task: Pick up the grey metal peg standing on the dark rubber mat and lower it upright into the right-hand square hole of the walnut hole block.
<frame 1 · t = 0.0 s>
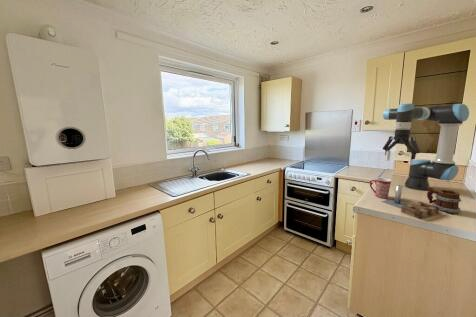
hand: (398, 162, 126), 28 cm above the countertop, fingers open, 13 cm apart
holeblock: (419, 213, 116), on the countertop
mug 2: (441, 209, 121), on the countertop
peg: (397, 203, 130), resting on mat
mug: (378, 196, 143), on the countertop
mat: (397, 203, 130), on the countertop
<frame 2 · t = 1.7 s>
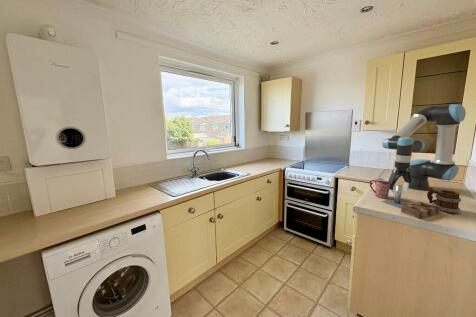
hand: (398, 193, 129), 7 cm above the countertop, fingers open, 13 cm apart
nothing on the countertop moved.
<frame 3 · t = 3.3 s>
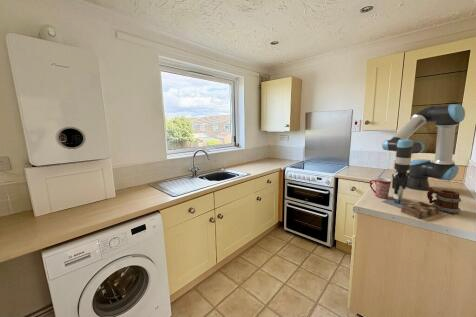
hand: (397, 198, 130), 4 cm above the countertop, fingers closed on peg, 3 cm apart
peg: (397, 203, 130), resting on mat, touching gripper
everything else where it was.
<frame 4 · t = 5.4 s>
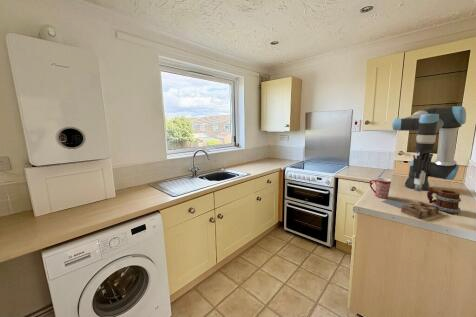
hand: (418, 183, 112), 19 cm above the countertop, fingers closed on peg, 3 cm apart
peg: (417, 190, 112), point 15 cm above the countertop, touching gripper
everything else where it was.
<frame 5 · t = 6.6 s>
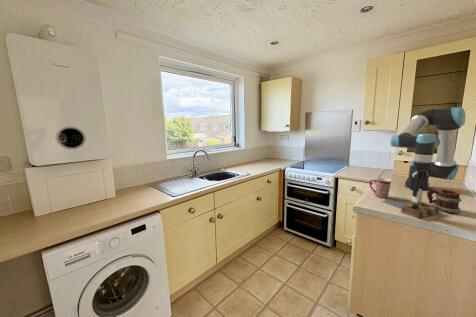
hand: (416, 201, 113), 8 cm above the countertop, fingers closed on peg, 3 cm apart
peg: (415, 207, 114), point 4 cm above the countertop, touching gripper
everything else where it was.
when the fingers open (6 cm above the countertop, at t = 7.6 s): peg drops 2 cm, resting in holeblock.
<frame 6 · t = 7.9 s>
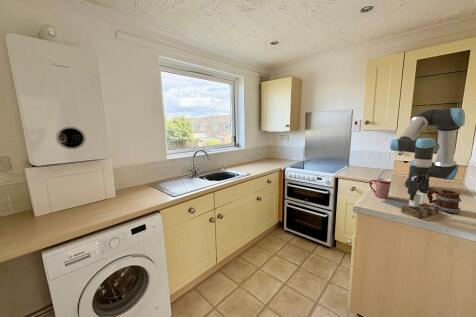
hand: (416, 204, 114), 6 cm above the countertop, fingers open, 7 cm apart
peg: (414, 214, 115), resting in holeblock
everything else where it was.
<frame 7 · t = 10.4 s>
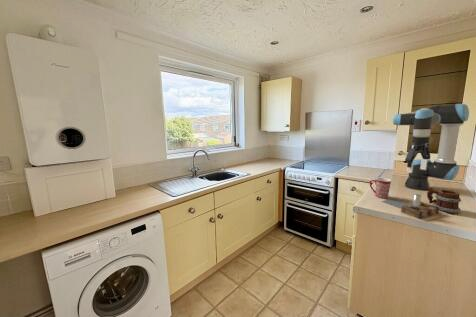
hand: (416, 170, 120), 24 cm above the countertop, fingers open, 13 cm apart
nothing on the countertop moved.
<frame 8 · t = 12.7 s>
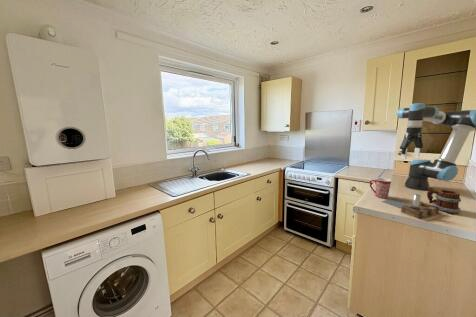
hand: (409, 158, 135), 29 cm above the countertop, fingers open, 13 cm apart
nothing on the countertop moved.
at the end: peg 0.0 cm from the target spot on the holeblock, point 0.0 cm above the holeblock's base; peg tilted 0°; the gripper is holding nothing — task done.
